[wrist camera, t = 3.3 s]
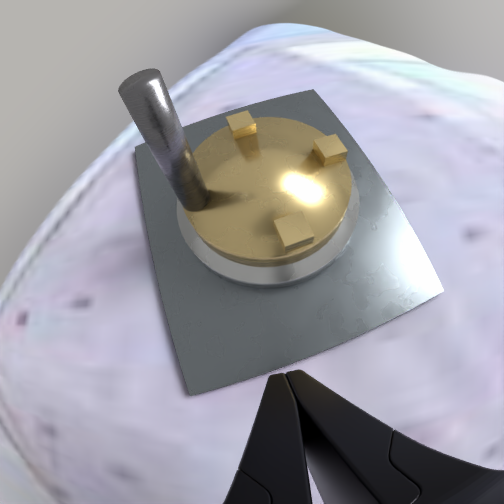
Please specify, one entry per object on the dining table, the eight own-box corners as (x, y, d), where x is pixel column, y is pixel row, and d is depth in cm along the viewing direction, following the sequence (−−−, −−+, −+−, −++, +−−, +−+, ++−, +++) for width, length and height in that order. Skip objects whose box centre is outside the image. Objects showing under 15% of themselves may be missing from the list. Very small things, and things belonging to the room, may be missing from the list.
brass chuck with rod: (342, 279, 19) (406, 157, 8) (168, 254, 21) (72, 142, 10) (347, 142, 23) (368, 15, 12) (210, 130, 25) (175, 13, 14)
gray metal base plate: (440, 292, 19) (452, 285, 18) (192, 395, 19) (183, 397, 17) (313, 93, 29) (313, 79, 27) (137, 150, 28) (129, 138, 26)
